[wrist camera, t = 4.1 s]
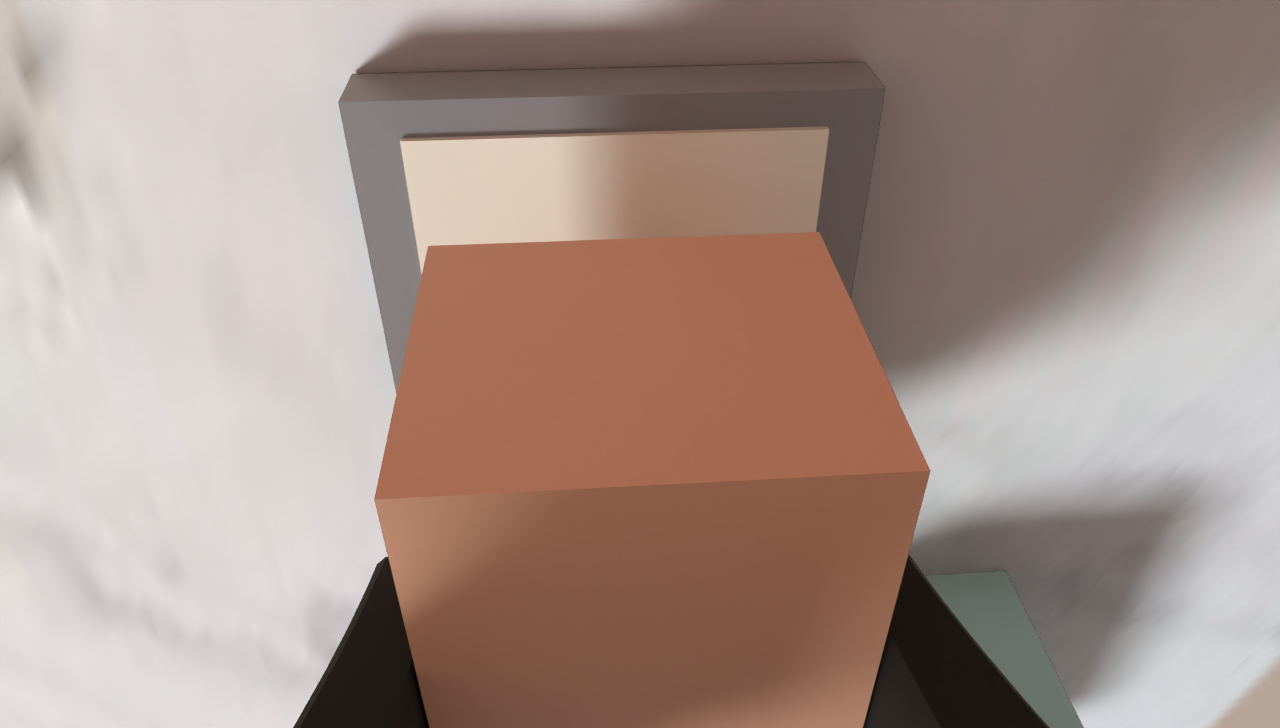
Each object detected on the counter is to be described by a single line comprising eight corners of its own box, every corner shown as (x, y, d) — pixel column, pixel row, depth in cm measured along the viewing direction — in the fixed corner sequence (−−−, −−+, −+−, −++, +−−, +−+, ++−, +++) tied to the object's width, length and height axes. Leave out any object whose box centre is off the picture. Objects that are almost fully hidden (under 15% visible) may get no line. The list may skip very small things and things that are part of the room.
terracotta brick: (767, 613, 15) (825, 869, 12) (487, 630, 15) (469, 897, 12) (819, 231, 11) (931, 471, 8) (428, 245, 11) (374, 499, 7)
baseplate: (797, 515, 18) (809, 558, 17) (437, 534, 18) (432, 579, 17) (865, 61, 13) (888, 91, 12) (352, 74, 12) (336, 104, 12)
